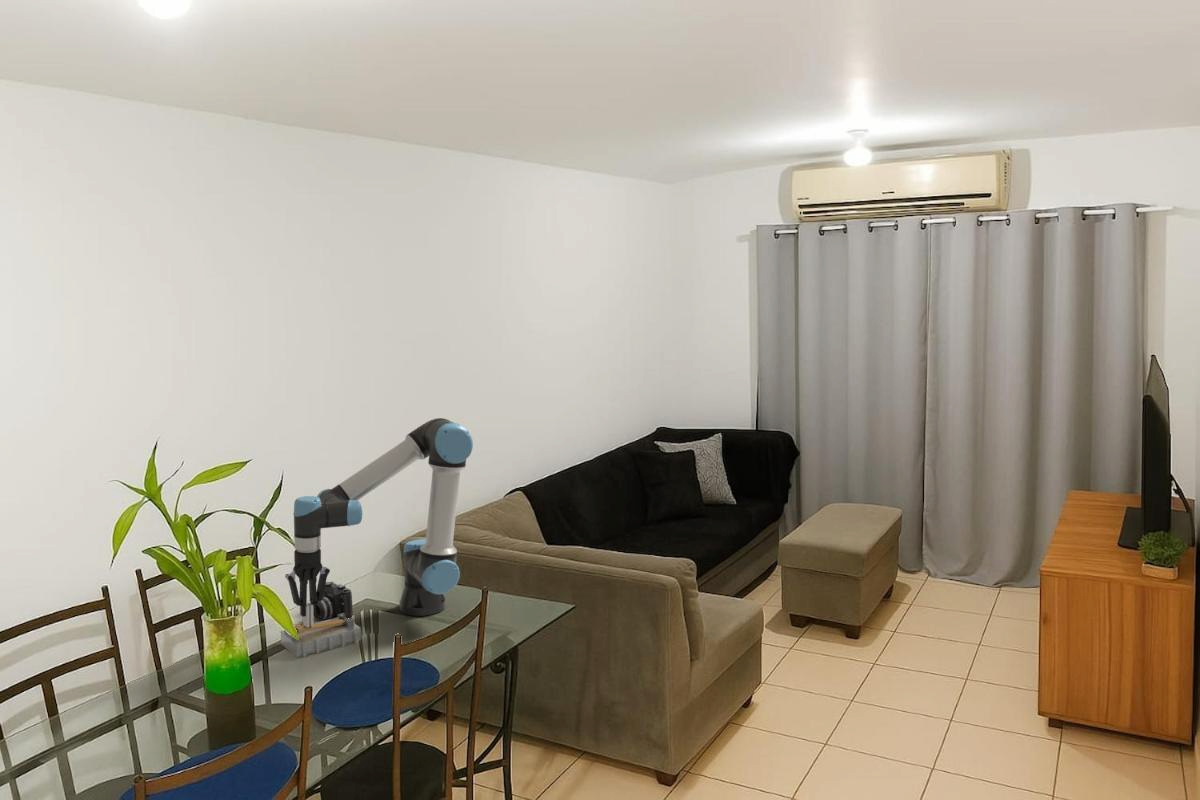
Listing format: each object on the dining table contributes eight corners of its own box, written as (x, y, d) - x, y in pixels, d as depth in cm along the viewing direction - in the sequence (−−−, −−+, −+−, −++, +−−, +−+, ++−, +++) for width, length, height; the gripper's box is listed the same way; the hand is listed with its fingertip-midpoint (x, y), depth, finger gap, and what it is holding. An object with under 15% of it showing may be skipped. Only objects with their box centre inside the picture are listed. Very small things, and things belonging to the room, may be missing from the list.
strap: (343, 619, 288) (344, 615, 288) (351, 624, 284) (351, 620, 284) (291, 629, 277) (291, 624, 277) (298, 634, 274) (298, 630, 273)
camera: (302, 615, 303) (301, 585, 301) (332, 606, 311) (331, 577, 309) (327, 627, 293) (326, 596, 292) (356, 617, 301) (356, 588, 300)
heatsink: (342, 627, 293) (341, 607, 292) (362, 641, 282) (361, 620, 281) (279, 643, 280) (279, 622, 279) (298, 658, 270) (297, 637, 269)
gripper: (324, 542, 282) (324, 616, 285) (280, 549, 273) (281, 626, 276) (334, 548, 276) (335, 624, 280) (290, 556, 268) (291, 634, 271)
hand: (308, 625), depth 278 cm, fingers closed
